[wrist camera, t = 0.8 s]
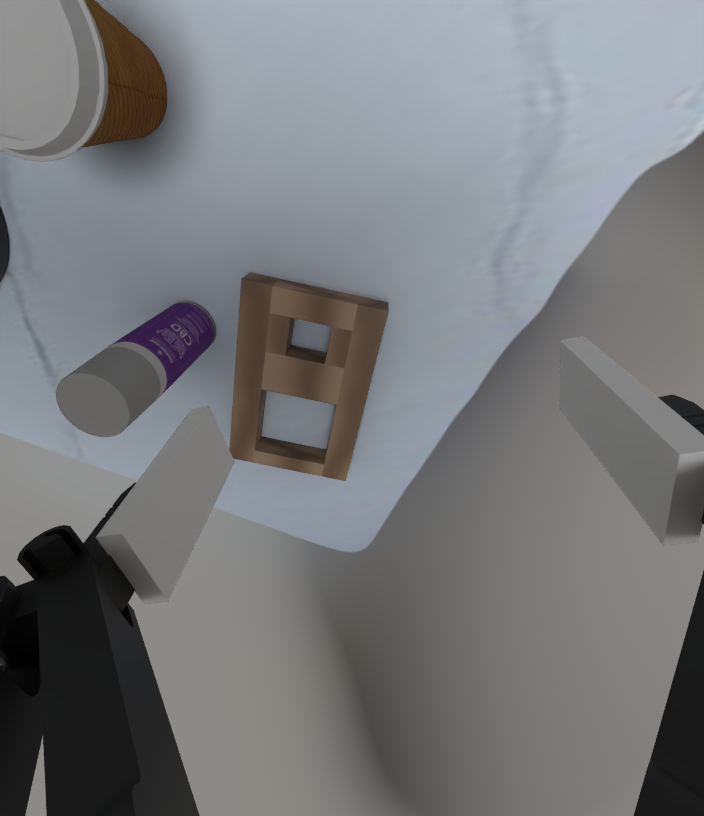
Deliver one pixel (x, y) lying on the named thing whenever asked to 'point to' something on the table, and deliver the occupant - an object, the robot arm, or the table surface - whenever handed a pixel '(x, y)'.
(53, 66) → the disposable coffee cup
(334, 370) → the socket board
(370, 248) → the table surface
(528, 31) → the table surface
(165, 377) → the container
